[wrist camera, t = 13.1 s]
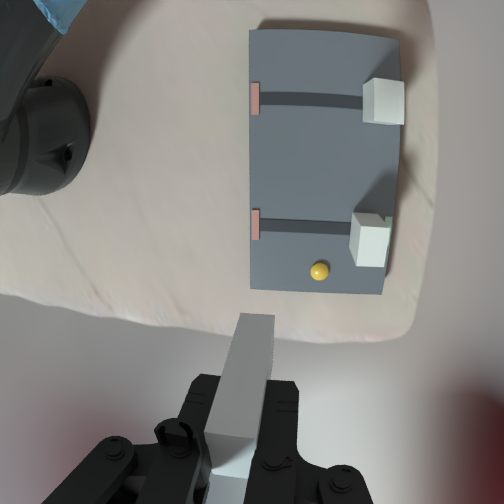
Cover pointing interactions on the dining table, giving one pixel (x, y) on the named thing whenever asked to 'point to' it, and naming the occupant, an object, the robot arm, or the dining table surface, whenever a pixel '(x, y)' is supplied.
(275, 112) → the breaker panel
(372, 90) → the block
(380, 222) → the block
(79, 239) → the dining table surface
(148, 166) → the dining table surface
